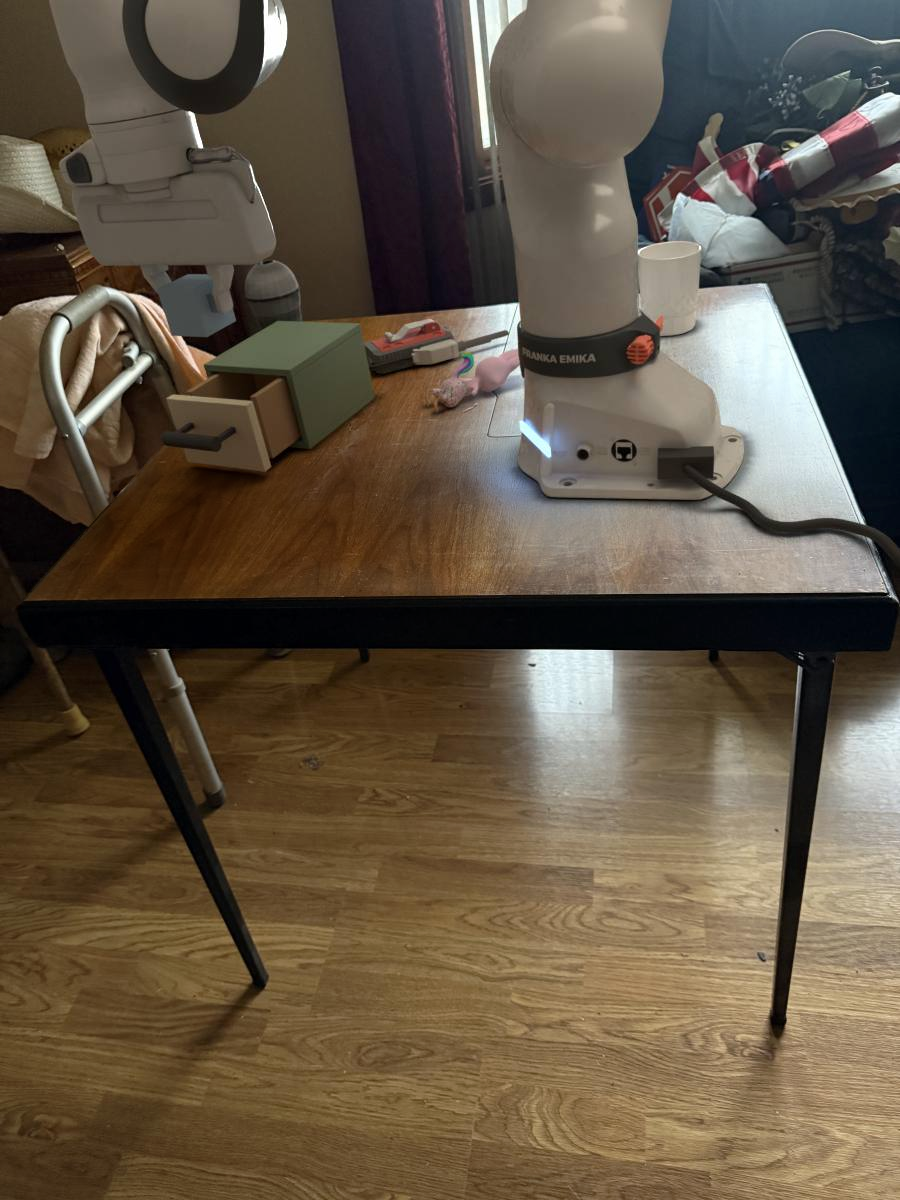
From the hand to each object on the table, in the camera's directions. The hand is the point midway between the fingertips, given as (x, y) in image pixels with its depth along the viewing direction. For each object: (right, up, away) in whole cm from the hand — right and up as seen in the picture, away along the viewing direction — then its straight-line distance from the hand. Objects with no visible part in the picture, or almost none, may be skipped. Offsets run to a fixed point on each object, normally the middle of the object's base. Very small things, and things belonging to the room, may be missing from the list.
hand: (199, 310), depth 84 cm
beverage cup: (+2, +3, +38) cm, 38 cm away
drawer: (+1, -10, +17) cm, 20 cm away
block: (0, -1, +1) cm, 2 cm away
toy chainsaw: (+22, +6, +37) cm, 43 cm away
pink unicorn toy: (+28, -2, +24) cm, 37 cm away
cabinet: (+6, -5, +25) cm, 26 cm away
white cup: (+53, +8, +33) cm, 63 cm away
